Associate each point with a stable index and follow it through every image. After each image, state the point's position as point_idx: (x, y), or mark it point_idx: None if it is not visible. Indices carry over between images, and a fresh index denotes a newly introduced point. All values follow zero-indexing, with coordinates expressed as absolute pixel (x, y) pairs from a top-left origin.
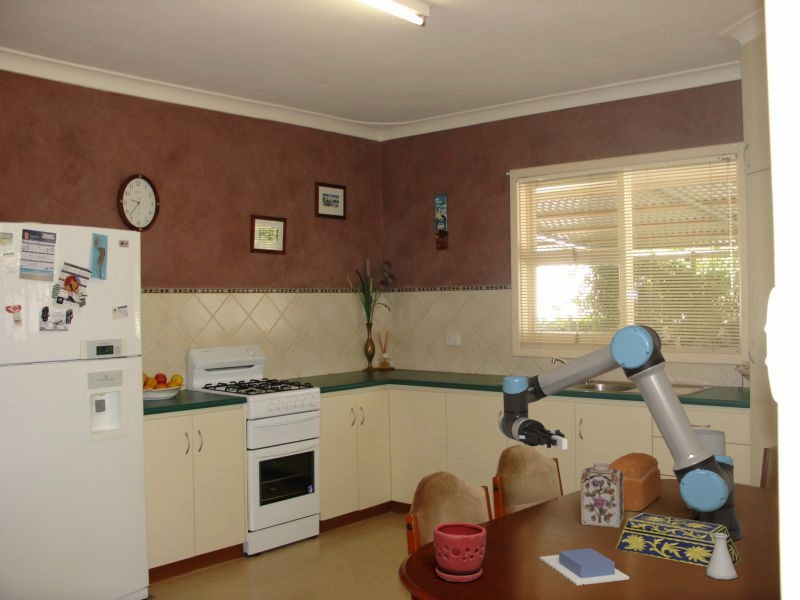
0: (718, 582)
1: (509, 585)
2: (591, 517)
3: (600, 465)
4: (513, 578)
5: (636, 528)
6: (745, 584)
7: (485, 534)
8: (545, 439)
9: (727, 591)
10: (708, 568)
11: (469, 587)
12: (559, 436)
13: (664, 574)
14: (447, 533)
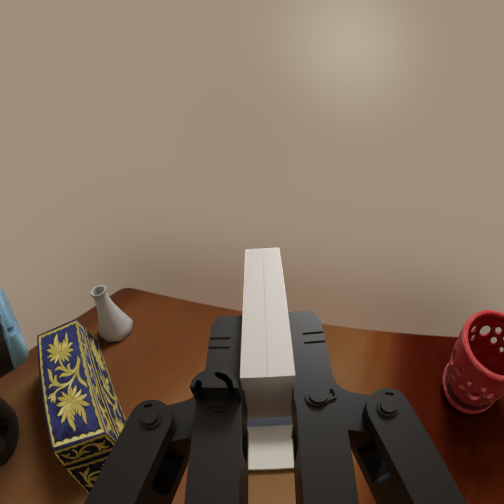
0: (138, 316)
1: (404, 356)
2: None
3: None
4: (397, 379)
5: (110, 424)
6: (122, 305)
7: (461, 335)
8: (351, 397)
9: (153, 297)
10: (123, 328)
11: (451, 352)
12: (242, 329)
13: (170, 352)
14: None
